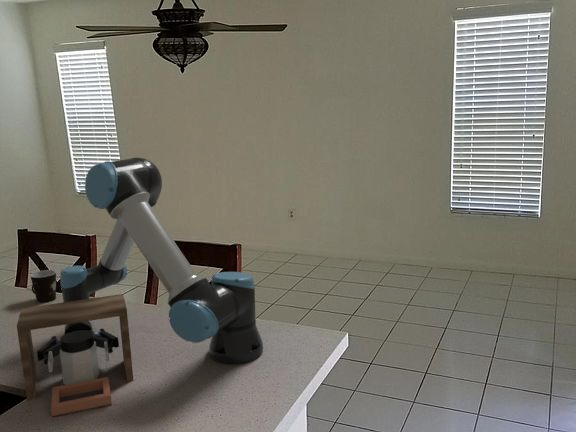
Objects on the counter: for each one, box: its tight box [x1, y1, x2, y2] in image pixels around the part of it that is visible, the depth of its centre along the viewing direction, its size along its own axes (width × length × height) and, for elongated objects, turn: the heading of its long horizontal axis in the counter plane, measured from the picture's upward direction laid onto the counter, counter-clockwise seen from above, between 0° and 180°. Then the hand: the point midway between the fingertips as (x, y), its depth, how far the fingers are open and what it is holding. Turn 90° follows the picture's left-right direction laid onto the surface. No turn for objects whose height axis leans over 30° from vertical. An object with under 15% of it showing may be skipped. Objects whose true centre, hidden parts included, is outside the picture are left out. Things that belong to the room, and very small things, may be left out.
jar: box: [59, 330, 100, 385], centre depth 141 cm, size 9×8×12 cm
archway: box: [16, 293, 134, 402], centre depth 140 cm, size 12×25×20 cm, turn 111°
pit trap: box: [50, 376, 112, 418], centre depth 132 cm, size 10×13×2 cm
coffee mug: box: [29, 269, 57, 304], centre depth 198 cm, size 12×9×10 cm
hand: (79, 361), depth 138 cm, fingers open, 13 cm apart
